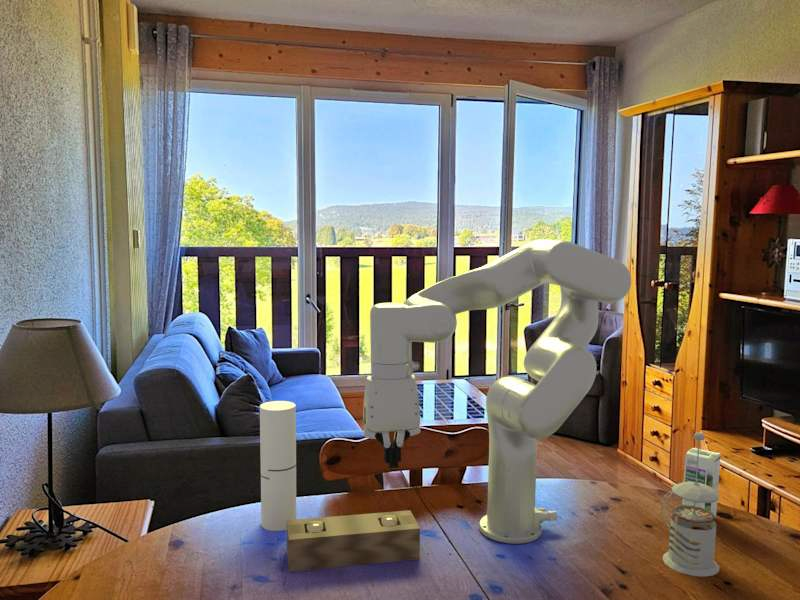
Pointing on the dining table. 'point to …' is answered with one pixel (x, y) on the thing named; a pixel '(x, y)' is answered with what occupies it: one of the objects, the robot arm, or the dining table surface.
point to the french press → (694, 554)
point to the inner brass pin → (388, 520)
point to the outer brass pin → (314, 526)
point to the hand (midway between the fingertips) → (392, 465)
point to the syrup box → (702, 474)
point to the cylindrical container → (278, 464)
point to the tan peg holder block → (352, 541)
